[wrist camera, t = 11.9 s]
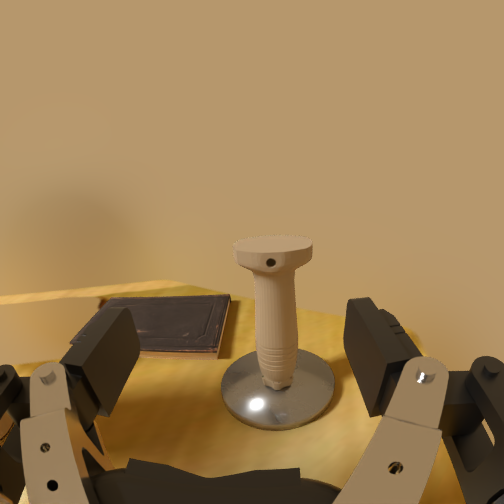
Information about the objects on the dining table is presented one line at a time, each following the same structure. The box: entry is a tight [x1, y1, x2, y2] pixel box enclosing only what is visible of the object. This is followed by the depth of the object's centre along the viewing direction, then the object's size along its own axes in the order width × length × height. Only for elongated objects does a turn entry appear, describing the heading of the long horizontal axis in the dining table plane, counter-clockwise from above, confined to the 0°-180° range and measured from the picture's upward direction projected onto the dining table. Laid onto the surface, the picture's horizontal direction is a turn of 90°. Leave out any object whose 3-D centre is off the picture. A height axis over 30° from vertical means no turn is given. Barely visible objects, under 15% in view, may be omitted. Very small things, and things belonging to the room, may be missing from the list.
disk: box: [221, 349, 335, 431], centre depth 28 cm, size 12×12×1 cm
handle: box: [233, 235, 312, 390], centre depth 25 cm, size 5×6×15 cm
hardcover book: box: [70, 294, 231, 360], centre depth 42 cm, size 16×23×2 cm
